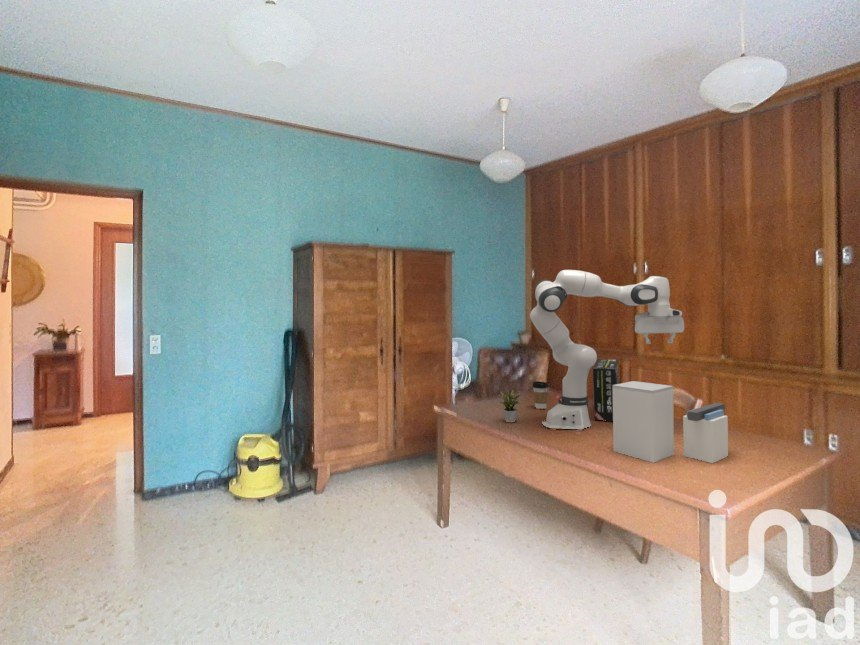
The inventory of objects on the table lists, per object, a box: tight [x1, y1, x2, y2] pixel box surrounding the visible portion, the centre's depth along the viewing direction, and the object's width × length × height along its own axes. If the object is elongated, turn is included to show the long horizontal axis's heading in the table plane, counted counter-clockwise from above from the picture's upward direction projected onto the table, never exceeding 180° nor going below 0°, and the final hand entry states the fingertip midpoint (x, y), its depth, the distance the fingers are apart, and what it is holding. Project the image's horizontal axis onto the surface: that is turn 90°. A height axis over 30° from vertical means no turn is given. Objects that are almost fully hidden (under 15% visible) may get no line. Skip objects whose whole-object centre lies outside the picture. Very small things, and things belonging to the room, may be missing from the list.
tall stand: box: [612, 380, 675, 463], centre depth 171 cm, size 14×16×26 cm
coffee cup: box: [532, 380, 549, 409], centre depth 249 cm, size 8×8×15 cm
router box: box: [592, 358, 620, 422], centre depth 234 cm, size 36×11×27 cm, turn 156°
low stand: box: [682, 407, 729, 464], centre depth 166 cm, size 12×10×17 cm
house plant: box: [498, 389, 524, 421], centre depth 222 cm, size 14×14×16 cm
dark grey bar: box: [687, 402, 726, 421], centre depth 166 cm, size 22×3×3 cm, turn 124°
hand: (659, 343), depth 200 cm, fingers open, 8 cm apart
